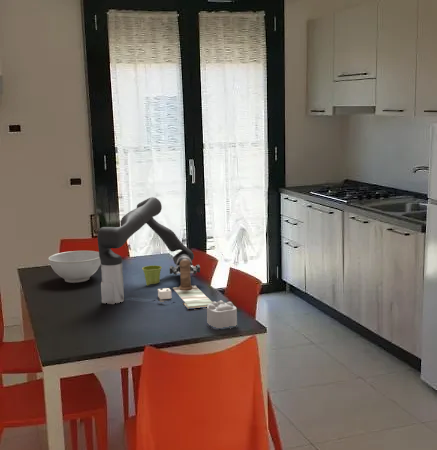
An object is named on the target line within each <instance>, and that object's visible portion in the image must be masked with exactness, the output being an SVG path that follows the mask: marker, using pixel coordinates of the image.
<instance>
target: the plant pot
mask: <svg viewBox="0 0 437 450" xmlns="http://www.w3.org/2000/svg"><path fill="white" fill-rule="evenodd" d="M141 268H142V271H143V275H144V279H145V284H146V286H150V285H155V284H158V283H160V278H161V271H162V266H161V265H146V266H143V267H141Z"/></svg>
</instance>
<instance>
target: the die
mask: <svg viewBox="0 0 437 450" xmlns="http://www.w3.org/2000/svg"><path fill="white" fill-rule="evenodd" d="M157 297H158V301H160V302H164V301H166V300H169V299H172V289H170V287H164V288H157ZM160 302H159V303H160ZM164 303H165V302H164Z"/></svg>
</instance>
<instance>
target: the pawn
mask: <svg viewBox="0 0 437 450" xmlns="http://www.w3.org/2000/svg"><path fill="white" fill-rule="evenodd" d="M179 274H180V276H179V277H180V285H179V286H178V287H179V289H180V290H191V289H192V286H193V285H192V283H191V280H192V279H191V278H192V277H191V273H190V261H189V260H187V259H183V260H181V261H180V273H179Z"/></svg>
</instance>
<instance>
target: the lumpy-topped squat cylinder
mask: <svg viewBox="0 0 437 450" xmlns="http://www.w3.org/2000/svg"><path fill="white" fill-rule="evenodd" d="M206 322H207V323H208V324H209V325H211V326H213V327H216V328H223V327H229V326H236V325H237V326H238V311H237V307H236V306H235V305H234V304H233V302H232V301H227V302H224V301H223V300H221V299H220V300H218V301H212V303H211V304H209V305H208V306H207V308H206ZM207 323H206V324H207Z"/></svg>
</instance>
